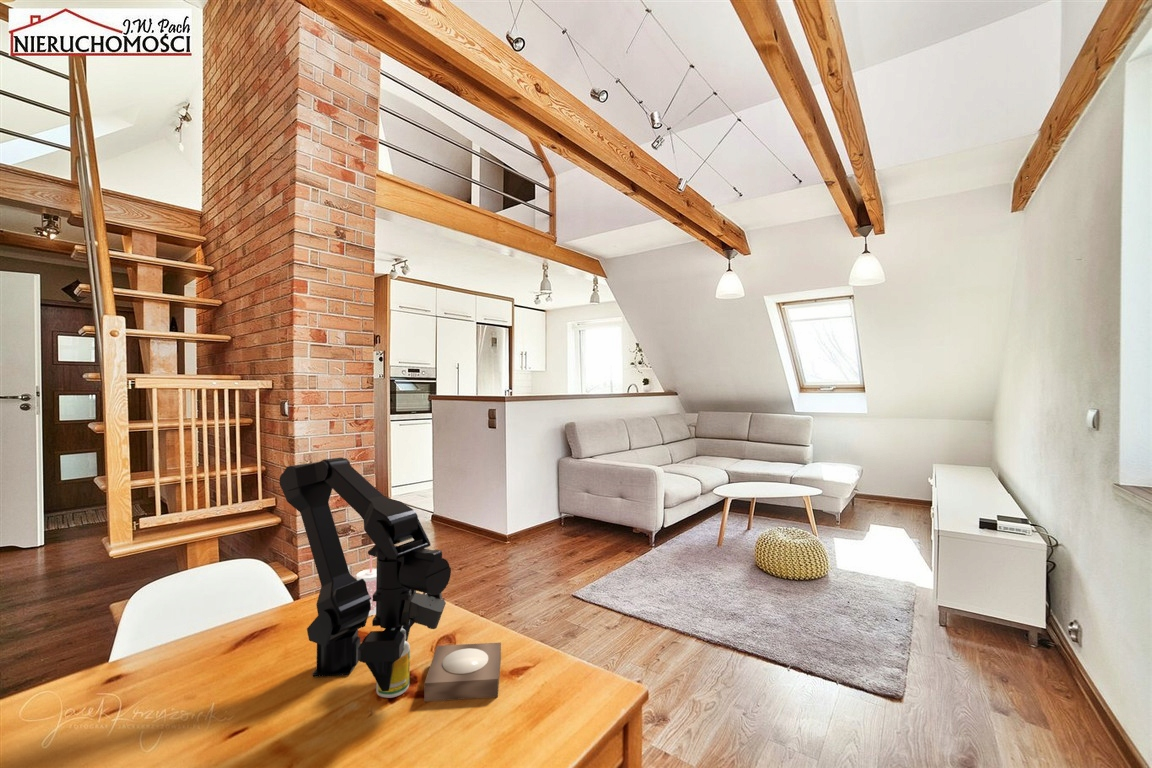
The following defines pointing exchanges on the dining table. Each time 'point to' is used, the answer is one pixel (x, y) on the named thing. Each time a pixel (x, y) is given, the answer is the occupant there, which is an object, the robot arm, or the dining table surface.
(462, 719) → the dining table surface
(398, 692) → the supplement bottle
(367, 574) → the beverage cup
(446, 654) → the brown flat square block
